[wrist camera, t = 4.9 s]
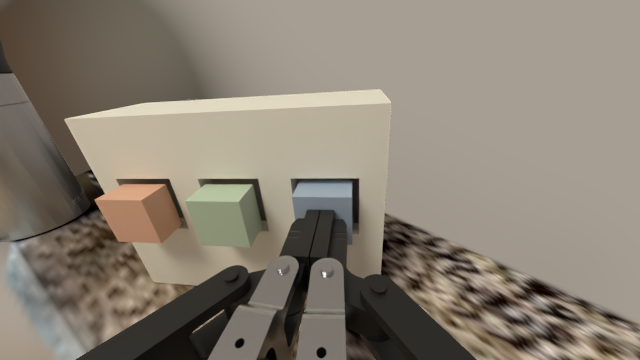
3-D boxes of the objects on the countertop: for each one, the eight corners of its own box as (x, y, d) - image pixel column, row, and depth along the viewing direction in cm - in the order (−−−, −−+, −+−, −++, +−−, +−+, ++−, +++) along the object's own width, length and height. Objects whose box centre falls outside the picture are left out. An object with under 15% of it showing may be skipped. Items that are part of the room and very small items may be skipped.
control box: (379, 299, 17) (391, 103, 11) (153, 282, 20) (64, 119, 14) (373, 243, 23) (380, 89, 16) (195, 236, 26) (143, 103, 19)
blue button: (352, 244, 14) (351, 197, 12) (298, 242, 14) (292, 196, 13) (352, 223, 15) (352, 180, 14) (304, 222, 16) (299, 180, 14)
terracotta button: (161, 243, 15) (140, 200, 13) (118, 241, 15) (94, 199, 14) (182, 224, 17) (166, 184, 15) (142, 222, 17) (123, 184, 16)
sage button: (250, 247, 14) (238, 201, 13) (201, 245, 14) (184, 201, 13) (262, 226, 16) (253, 184, 14) (218, 225, 16) (205, 184, 15)
